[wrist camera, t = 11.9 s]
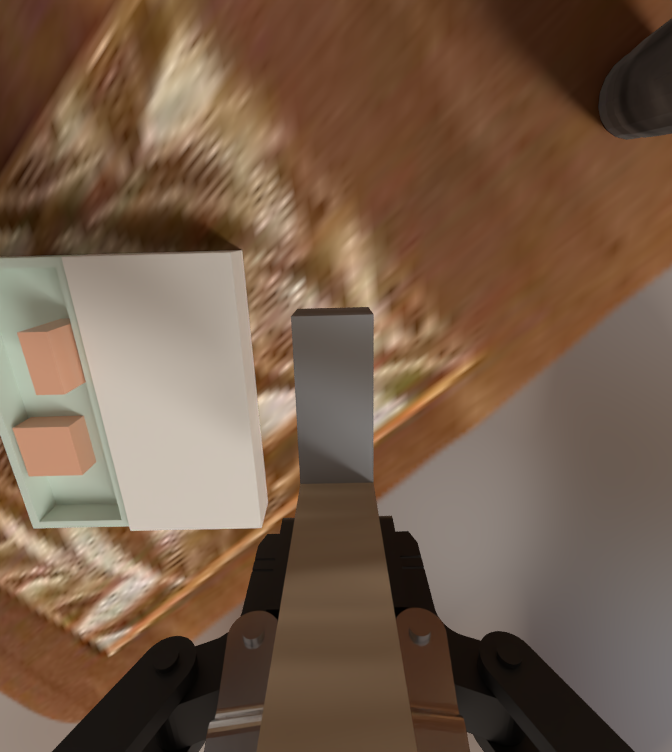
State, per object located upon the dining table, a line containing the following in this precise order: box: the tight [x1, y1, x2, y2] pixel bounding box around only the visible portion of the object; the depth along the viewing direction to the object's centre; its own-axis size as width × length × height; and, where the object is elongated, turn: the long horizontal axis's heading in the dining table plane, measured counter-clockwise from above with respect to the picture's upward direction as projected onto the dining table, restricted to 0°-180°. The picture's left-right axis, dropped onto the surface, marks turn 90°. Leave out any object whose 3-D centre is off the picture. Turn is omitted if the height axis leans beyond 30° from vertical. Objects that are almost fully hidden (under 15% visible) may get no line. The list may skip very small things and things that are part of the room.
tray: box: [0, 254, 129, 528], centre depth 28 cm, size 20×8×2 cm, turn 1°
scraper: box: [256, 307, 417, 752], centre depth 11 cm, size 14×2×10 cm, turn 2°
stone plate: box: [61, 250, 268, 531], centre depth 28 cm, size 20×10×3 cm, turn 2°
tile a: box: [17, 318, 86, 395], centre depth 26 cm, size 4×4×2 cm
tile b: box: [12, 416, 96, 476], centre depth 29 cm, size 4×4×2 cm
